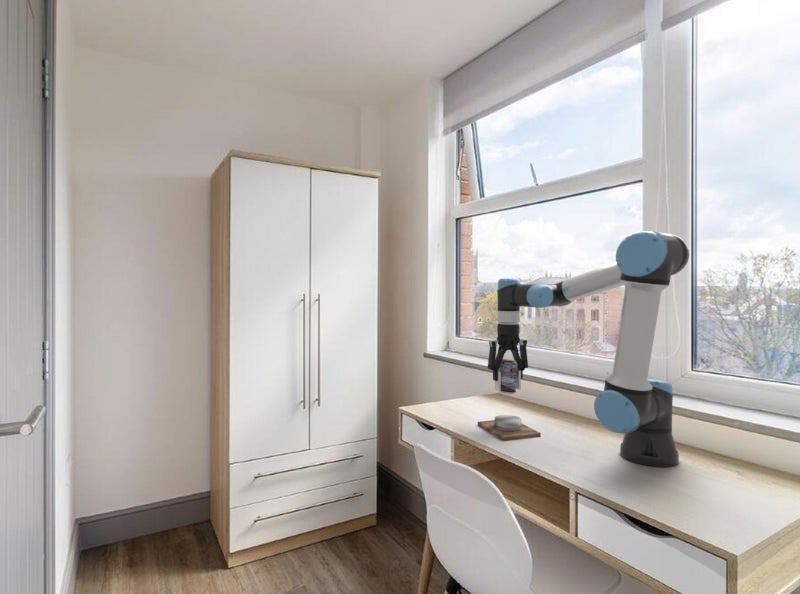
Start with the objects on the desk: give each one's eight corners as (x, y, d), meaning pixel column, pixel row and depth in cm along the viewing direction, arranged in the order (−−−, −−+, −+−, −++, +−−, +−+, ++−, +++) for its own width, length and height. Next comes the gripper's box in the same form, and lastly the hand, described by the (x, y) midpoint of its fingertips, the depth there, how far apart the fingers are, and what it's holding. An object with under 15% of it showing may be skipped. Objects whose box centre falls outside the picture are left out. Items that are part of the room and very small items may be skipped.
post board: (540, 436, 157) (540, 424, 157) (503, 440, 153) (503, 427, 152) (512, 421, 174) (512, 410, 174) (477, 425, 170) (477, 413, 170)
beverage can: (495, 394, 161) (496, 360, 161) (501, 390, 168) (501, 357, 167) (514, 396, 158) (514, 361, 158) (519, 392, 165) (519, 358, 164)
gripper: (527, 321, 169) (526, 385, 170) (477, 323, 163) (476, 388, 164) (539, 323, 162) (539, 389, 162) (487, 324, 156) (486, 393, 156)
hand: (507, 389), depth 163 cm, fingers closed on beverage can, 7 cm apart
